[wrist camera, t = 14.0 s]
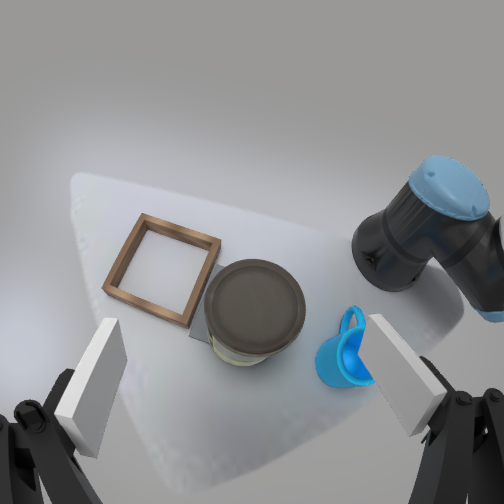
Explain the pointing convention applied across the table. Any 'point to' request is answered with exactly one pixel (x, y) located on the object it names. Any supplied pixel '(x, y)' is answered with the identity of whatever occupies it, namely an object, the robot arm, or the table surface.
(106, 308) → the table surface
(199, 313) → the mat
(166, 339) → the table surface
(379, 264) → the robot arm
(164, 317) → the crate
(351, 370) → the mug
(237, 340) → the coffee can
